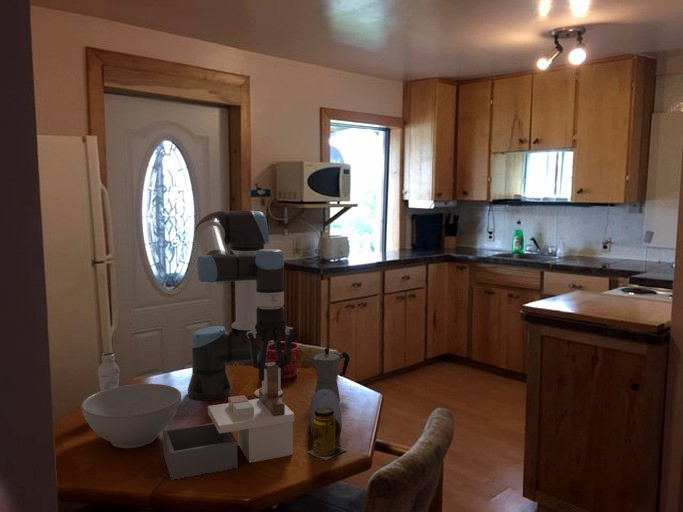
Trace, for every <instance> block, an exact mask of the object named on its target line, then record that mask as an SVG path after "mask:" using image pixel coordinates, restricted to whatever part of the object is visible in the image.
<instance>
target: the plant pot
mask: <svg viewBox="0 0 683 512" xmlns="http://www.w3.org/2000/svg"><path fill="white" fill-rule="evenodd" d="M284 347H285V341H281V348H282V354H283V359H284ZM299 361H300V345H299V344H298V343H296V342H292V348H291V361H290V364H287V365H285V367H284V377H283V378H281V380H285V379H286V380H287V379H291V378H293V377H295V376H296V375H297V374H298V373H299V369H298V368H297V367H298V365H299ZM271 362H275V363H276V364H277V358H276V352H275V346H274V342H273V343H269V346H268V352H267V355H266V363H271ZM277 365H278V364H277Z"/></svg>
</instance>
